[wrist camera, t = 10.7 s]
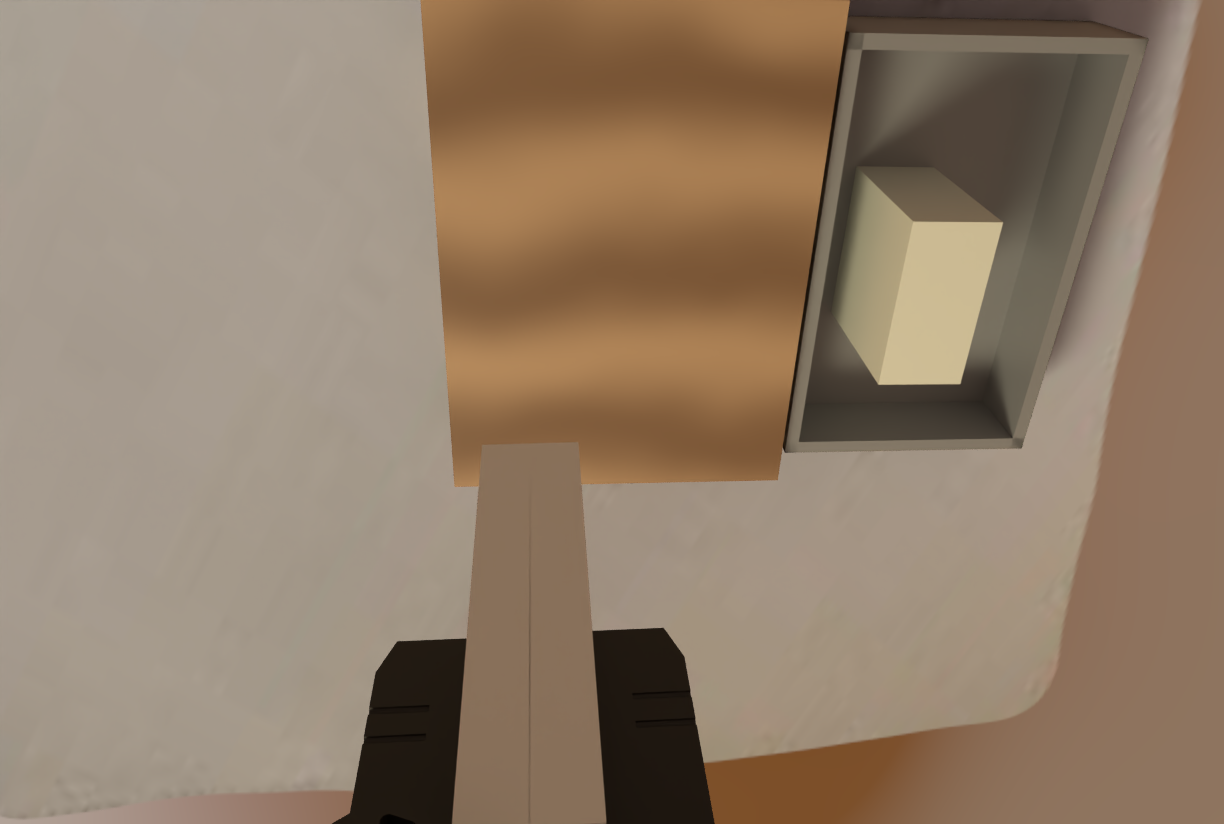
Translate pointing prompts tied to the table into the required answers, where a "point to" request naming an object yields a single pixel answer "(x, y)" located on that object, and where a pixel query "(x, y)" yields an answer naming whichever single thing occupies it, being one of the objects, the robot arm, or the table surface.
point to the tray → (993, 176)
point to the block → (913, 273)
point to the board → (627, 224)
